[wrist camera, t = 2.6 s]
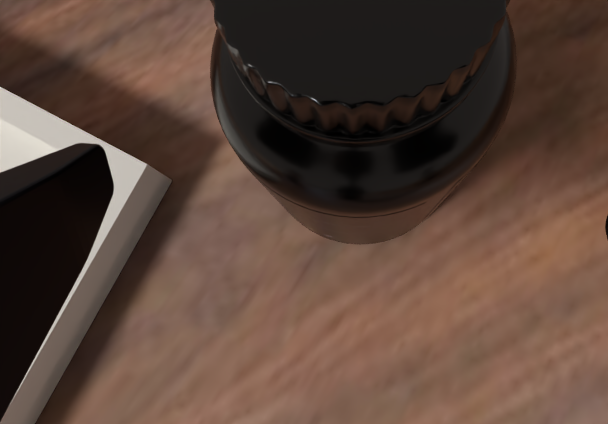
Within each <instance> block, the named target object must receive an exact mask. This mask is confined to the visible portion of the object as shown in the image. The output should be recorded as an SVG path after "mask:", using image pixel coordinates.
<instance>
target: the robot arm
mask: <svg viewBox="0 0 608 424" xmlns="http://www.w3.org/2000/svg"><path fill="white" fill-rule="evenodd" d="M113 192H114V183H113V178H112V175H111V171H110V167H109V163H108V160H107V156H106V153H105V150H104V148H103V147H102V146H100V145H99V144H90V143H77V144H74V145H72V146H69V147H66V148H64V149H61V150H58V151H56V152H53V153H50V154H48V155H45V156H43V157H40V158H37V159H35V160H32V161H29V162H27V163H24V164H22V165H19V166H16V167H14V168H11V169H8V170H6V171H3V172H0V422H1V420H2V418H3V416H4V414H5V412H6V411H7V409H8V407H9V405H10V403H11V401H12V399H13V398H14V396H15V394H16V392H17V390H18V388H19V386H20V385H21V383H22V381H23V379H24V377H25V375H26V373H27V372H28V370H29V368H30V366H31V364H32V362H33V360H34V359H35V357H36V355H37V353H38V351H39V349H40V347H41V345H42V344H43V342H44V340H45V338H46V336H47V334H48V332H49V331H50V329H51V327H52V325H53V323H54V321H55V319H56V318H57V316H58V314H59V312H60V310H61V308H62V306H63V305H64V303H65V301H66V299H67V297H68V295H69V293H70V292H71V290H72V288H73V286H74V284H75V282H76V280H77V279H78V277H79V275H80V273H81V271H82V269H83V267H84V265H85V263H86V261H87V259H88V257H89V254H90V252H91V250H92V247H93V245H94V242H95V240H96V237H97V235H98V232H99V229H100V227H101V224H102V222H103V219H104V217H105V214H106V212H107V209H108V207H109V204H110V201H111V199H112V196H113ZM605 228H606V235H607V239H608V216H607V219H606V225H605Z"/></svg>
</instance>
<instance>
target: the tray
mask: <svg viewBox="0 0 608 424" xmlns="http://www.w3.org/2000/svg"><path fill="white" fill-rule="evenodd" d="M77 143H90V144H99V145H100V146H102V147H103V148H104V150H105V153H106V156H107V160H108V163H109V167H110V171H111V175H112V178H113V183H114V192H113V196H112V199H111V201H110V204H109V207H108V209H107V212H106V214H105V217H104V219H103V222H102V224H101V227H100V229H99V232H98V235H97V237H96V240H95V242H94V245H93V247H92V250H91V252H90V254H89V257H88V259H87V261H86V263H85V265H84V267H83V269H82V271H81V273H80V275H79V277H78V279H77V280H76V282H75V284H74V286H73V288H72V290H71V292H70V293H69V295H68V297H67V299H66V301H65V303H64V305H63V306H62V308H61V310H60V312H59V314H58V316H57V318H56V319H55V321H54V323H53V325H52V327H51V329H50V331H49V332H48V334H47V336H46V338H45V340H44V342H43V344H42V345H41V347H40V349H39V351H38V353H37V355H36V357H35V359H34V360H33V362H32V364H31V366H30V368H29V370H28V372H27V373H26V375H25V377H24V379H23V381H22V383H21V385H20V386H19V388H18V390H17V392H16V394H15V396H14V398H13V399H12V401H11V403H10V405H9V407H8V409H7V411H6V412H5V414H4V416H3V418H2V420H1V422H0V424H35V423H36V421H37V419H38V418H39V416H40V414H41V412H42V410H43V409H44V407H45V405H46V403H47V402H48V400H49V398H50V396H51V395H52V393H53V391H54V389H55V387H56V386H57V384H58V382H59V380H60V379H61V377H62V375H63V373H64V372H65V370H66V368H67V366H68V364H69V363H70V361H71V359H72V357H73V356H74V354H75V352H76V350H77V349H78V347H79V345H80V343H81V341H82V340H83V338H84V336H85V334H86V333H87V331H88V329H89V327H90V326H91V324H92V322H93V320H94V318H95V317H96V315H97V313H98V311H99V310H100V308H101V306H102V304H103V302H104V301H105V299H106V297H107V295H108V294H109V292H110V290H111V288H112V287H113V285H114V283H115V281H116V279H117V278H118V276H119V274H120V272H121V271H122V269H123V267H124V265H125V264H126V262H127V260H128V258H129V256H130V255H131V253H132V251H133V249H134V248H135V246H136V244H137V242H138V241H139V239H140V237H141V235H142V233H143V232H144V230H145V228H146V226H147V225H148V223H149V221H150V219H151V218H152V216H153V214H154V212H155V210H156V209H157V207H158V205H159V203H160V202H161V200H162V198H163V196H164V194H165V193H166V191H167V189H168V187H169V186H170V184H171V182H172V180H171V179H170V178H168V177H167V176H165V175H163V174H162V173H160V172H159V171H157V170H156V169H154V168H152V167H151V166H149V165H148V164H146V163H144V162H142V161H140V160H138V159H136V158H134V157H133V156H131V155H129V154H127V153H125V152H123V151H121V150H119V149H117V148H115V147H114V146H112V145H110V144H108V143H106V142H104V141H102V140H100V139H98V138H96V137H94V136H93V135H91V134H89V133H87V132H85V131H83V130H81V129H79V128H77V127H75V126H74V125H72V124H70V123H68V122H66V121H64V120H62V119H60V118H58V117H56V116H55V115H53V114H51V113H49V112H47V111H45V110H43V109H41V108H39V107H37V106H36V105H34V104H32V103H30V102H28V101H26V100H24V99H22V98H20V97H18V96H17V95H15V94H13V93H11V92H9V91H7V90H5V89H3V88H1V87H0V172H3V171H6V170H8V169H11V168H14V167H16V166H19V165H22V164H24V163H27V162H29V161H32V160H35V159H37V158H40V157H43V156H45V155H48V154H50V153H53V152H56V151H58V150H61V149H64V148H66V147H69V146H72V145H74V144H77Z"/></svg>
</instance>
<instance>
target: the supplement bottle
mask: <svg viewBox="0 0 608 424" xmlns="http://www.w3.org/2000/svg"><path fill="white" fill-rule="evenodd" d="M210 1H211V3H212V5H213V7H214V19H215V24H216V26H217V30H216V34H215V38H214V43H213V47H212V54H211V64H210V79H211V91H212V97H213V102H214V107H215V110H216V114H217V117H218V120H219V122H220V125H221V127H222V130H223V132H224V134H225V136H226V138H227V139H228V141H229V143H230V145H231V146H232V148H233V149H234V151H235V152H236V154H237V155H238V157H239V158H240V160H241V161H242V162H243V164H244V165H245V166H246V167H247V168H248V170H249V171H250V172H251V173H252V174H253V175H254V176H255V177H256V178H257V180H258V181H259V182H260V183H261V184H262V185H263V186H264V187H265V188H266V189H267V190H268V191H269V192H270V193H271V194H272V195H273V197H274V198H275V199H276V200H277V201H278V202H279V203H280V204H281V205H282V206H283V207H284V208H285V209H286V210H287V211H288V212H289V213H290V214H291V215H292V216H293V217H294V218H295V219H296V220H297V221H298V222H300V223H301V224H302V225H303V226H305V227H306V228H308V229H309V230H311V231H312V232H314V233H316V234H318V235H320V236H322V237H325V238H327V239H330V240H333V241H337V242H342V243H347V244H373V243H379V242H384V241H387V240H390V239H394V238H396V237H398V236H401V235H403V234H405V233H407V232H408V231H410V230H412V229H413V228H415V227H416V226H418V225H419V224H420V223H421V222H423V221H424V220H425V219H426V218H427V217H428V216H429V215H430V214H431V213H432V212H433V211H434V210H435V209H436V208H437V207H438V206H439V205H440V204H441V203H442V202H443V201H444V200H445V199H446V197H447V196H448V195H449V194H450V193H451V192H452V191H453V190H454V189H455V188H456V187H457V186H458V184H459V183H460V182H461V181H462V180H463V179H464V178H465V177H466V176H467V175H468V174H469V173H470V171H471V170H472V169H473V168H474V167H475V166H476V165H477V163H478V162H479V161H480V160H481V158H482V157H483V156H484V155H485V153H486V152H487V150H488V149H489V147H490V146H491V144H492V143H493V141H494V139H495V138H496V136H497V135H498V133H499V131H500V129H501V127H502V125H503V123H504V121H505V118H506V115H507V113H508V110H509V107H510V104H511V100H512V96H513V92H514V86H515V79H516V62H517V59H516V45H515V40H514V34H513V29H512V26H511V23H510V19H509V16H508V13H507V11H506V7H507V5H508V3H509V1H510V0H210Z"/></svg>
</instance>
